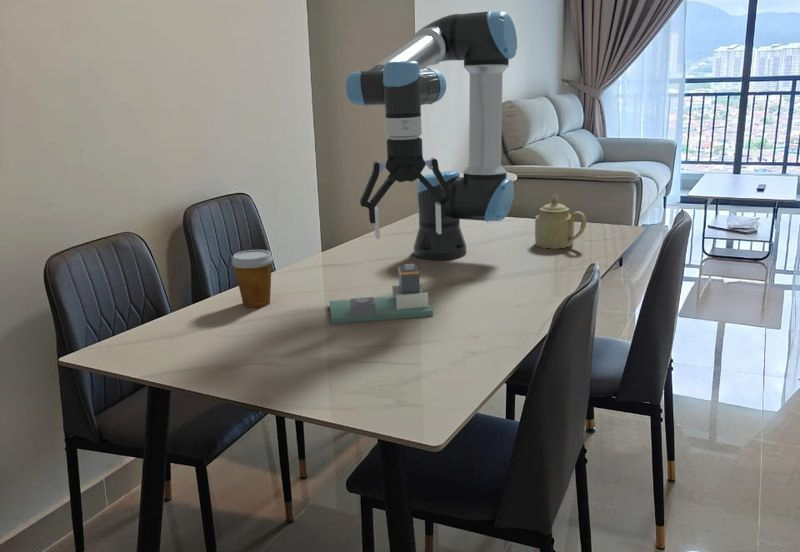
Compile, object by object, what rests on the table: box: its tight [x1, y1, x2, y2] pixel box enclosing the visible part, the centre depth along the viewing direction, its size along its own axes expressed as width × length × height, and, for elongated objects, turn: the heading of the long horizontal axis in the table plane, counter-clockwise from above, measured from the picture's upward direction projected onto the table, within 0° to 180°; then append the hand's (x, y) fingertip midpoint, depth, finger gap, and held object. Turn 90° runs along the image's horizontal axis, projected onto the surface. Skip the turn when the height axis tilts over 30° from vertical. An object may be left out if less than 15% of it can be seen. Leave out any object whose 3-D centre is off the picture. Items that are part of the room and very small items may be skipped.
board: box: [329, 282, 434, 325], centre depth 159 cm, size 12×22×4 cm, turn 97°
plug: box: [397, 263, 421, 295], centre depth 160 cm, size 5×4×9 cm
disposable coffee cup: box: [231, 249, 274, 309], centre depth 166 cm, size 10×10×12 cm
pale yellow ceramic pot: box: [534, 194, 587, 250], centre depth 208 cm, size 15×11×15 cm
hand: (408, 235), depth 157 cm, fingers open, 13 cm apart
